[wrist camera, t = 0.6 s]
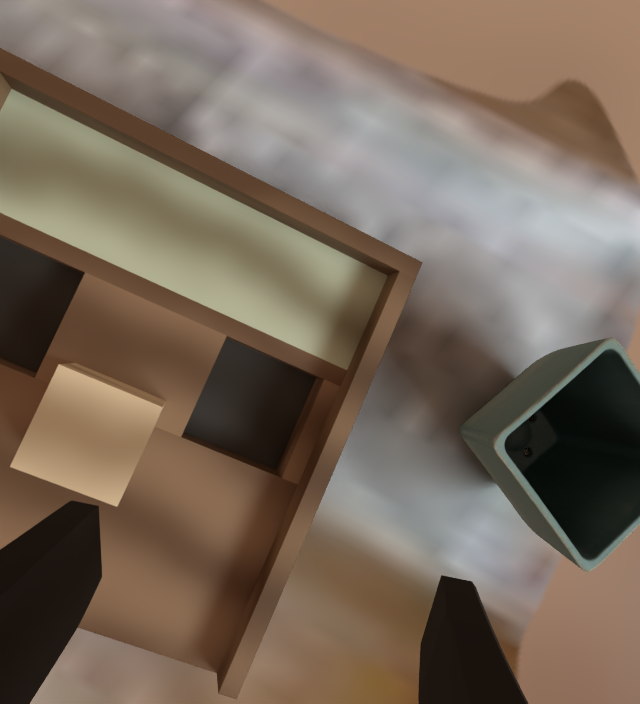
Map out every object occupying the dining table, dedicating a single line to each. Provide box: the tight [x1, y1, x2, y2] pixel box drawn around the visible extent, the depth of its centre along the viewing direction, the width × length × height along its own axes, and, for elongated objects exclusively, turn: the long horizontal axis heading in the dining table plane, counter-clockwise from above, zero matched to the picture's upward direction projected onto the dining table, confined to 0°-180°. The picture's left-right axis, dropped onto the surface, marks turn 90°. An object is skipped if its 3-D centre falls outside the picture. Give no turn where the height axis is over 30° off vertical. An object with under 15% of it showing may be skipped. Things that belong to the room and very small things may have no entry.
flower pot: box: [460, 338, 640, 572], centre depth 34 cm, size 9×9×9 cm
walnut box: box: [0, 48, 422, 699], centre depth 32 cm, size 25×24×4 cm
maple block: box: [10, 363, 166, 507], centre depth 29 cm, size 5×5×4 cm
